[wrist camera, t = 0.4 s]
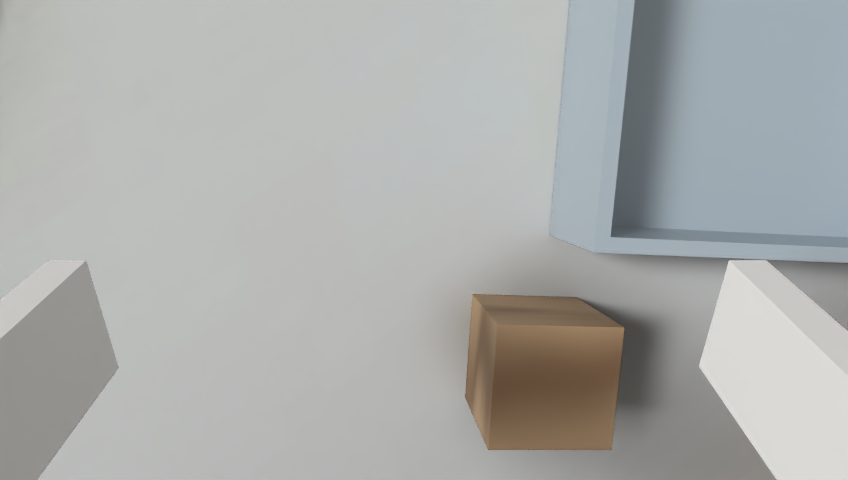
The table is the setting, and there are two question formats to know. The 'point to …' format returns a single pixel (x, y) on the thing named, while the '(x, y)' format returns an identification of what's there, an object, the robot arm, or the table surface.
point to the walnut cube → (542, 373)
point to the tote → (705, 129)
